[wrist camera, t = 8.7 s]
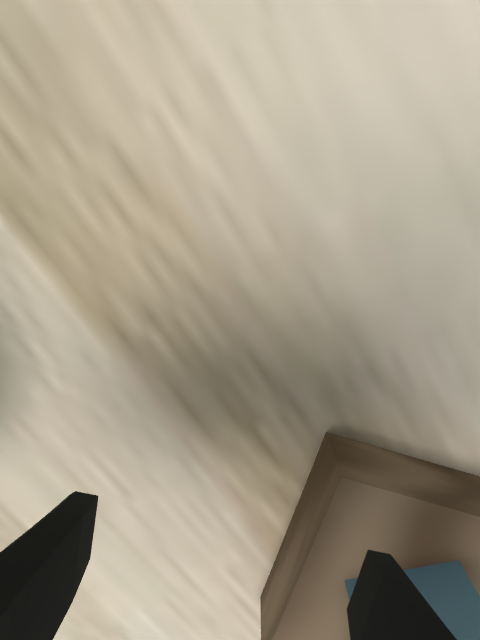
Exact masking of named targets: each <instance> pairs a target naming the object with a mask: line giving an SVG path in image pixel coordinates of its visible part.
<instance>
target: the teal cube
mask: <svg viewBox="0 0 480 640" xmlns="http://www.w3.org/2000/svg"><path fill="white" fill-rule="evenodd" d="M403 571H404V572H405V573H406V575H407V576H408V577H409V579H410V580H411V581H412V582H413V584H414V585H415V586H416V588H417V589H418V590H419V592H420V593H421V594H422V596H423V597H424V598H425V599H426V601H427V602H428V603H429V605H430V606H431V607H432V609H433V610H434V611H435V612H436V614H437V615H438V616H439V618H440V619H441V620H442V621H443V623H444V624H445V625H446V627H447V628H448V629H449V630H450V632H451V633H452V634H453V635H454V637H455V638H456V639H457V640H480V596H479V594H478V592H477V591H476V589H475V587H474V586H473V584H472V582H471V581H470V579H469V577H468V576H467V574H466V572H465V571H464V569H463V567H462V565H461V564H460V562H459V560H458V561H453V562H447V563H441V564H435V565H429V566H424V567H418V568H412V569H406V570H403ZM344 581H345V585H346V589H347V593H348V597H349V601H350V598H351V595H352V593H353V590H354V587H355V584H356V581H357V578H354V579H348V580H344Z"/></svg>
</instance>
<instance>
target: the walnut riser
mask: <svg viewBox="0 0 480 640" xmlns="http://www.w3.org/2000/svg"><path fill="white" fill-rule="evenodd" d="M367 550H373V551H378V552H383V553H388V554H391V555H392V557H393V558H394V559H395V560H396V562H397V563H398V564H399V566H400V567H401V568H402V569H403V570H406V569H412V568H418V567H424V566H429V565H435V564H441V563H447V562H453V561H458V560H459V562H460V564H461V565H462V567H463V569H464V571H465V572H466V574H467V576H468V577H469V579H470V581H471V582H472V584H473V586H474V587H475V589H476V591H477V592H478V594H479V596H480V477H478V476H475V475H472V474H468V473H465V472H461V471H458V470H454V469H451V468H447V467H444V466H441V465H437V464H434V463H430V462H427V461H423V460H420V459H416V458H413V457H410V456H406V455H403V454H399V453H396V452H392V451H389V450H385V449H382V448H378V447H375V446H372V445H368V444H365V443H361V442H358V441H354V440H351V439H347V438H344V437H341V436H337V435H334V434H330V433H327V432H326V435H325V437H324V440H323V442H322V445H321V447H320V450H319V452H318V455H317V457H316V460H315V462H314V465H313V467H312V470H311V472H310V475H309V477H308V480H307V482H306V485H305V487H304V490H303V492H302V495H301V497H300V500H299V502H298V505H297V507H296V510H295V512H294V515H293V517H292V520H291V522H290V525H289V527H288V530H287V532H286V535H285V537H284V540H283V542H282V545H281V547H280V550H279V552H278V555H277V557H276V560H275V562H274V565H273V567H272V570H271V572H270V575H269V577H268V580H267V582H266V585H265V587H264V590H263V592H262V595H261V640H350V633H349V624H348V616H347V607H348V604H349V597H348V593H347V589H346V585H345V581H344V580H348V579H354V578H358V576H359V573H360V570H361V567H362V564H363V561H364V559H365V556H366V553H367Z"/></svg>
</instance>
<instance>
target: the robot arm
mask: <svg viewBox="0 0 480 640" xmlns="http://www.w3.org/2000/svg"><path fill="white" fill-rule="evenodd" d="M97 502H98V496H96V495H91V494H86V493H81V492H76V491H75V492H73V493H72V494H70V495H69V496H68V497H67V498H66V499H65V500H63V501H62V502H61V503H60V504H59V505H58V506H57V507H55V508H54V509H53V510H52V511H51V512H50V513H48V514H47V515H46V516H45V517H44V518H42V519H41V520H40V521H39V522H38V523H36V524H35V525H34V526H33V527H32V528H30V529H29V530H28V531H27V532H25V533H24V534H23V535H22V536H20V537H19V538H18V539H17V540H15V541H14V542H13V543H11V544H10V545H9V546H8V547H6V548H5V549H4V550H3V551H1V552H0V640H53V638H54V636H55V634H56V632H57V630H58V628H59V627H60V625H61V623H62V621H63V619H64V617H65V615H66V613H67V611H68V609H69V607H70V605H71V603H72V601H73V599H74V597H75V594H76V592H77V589H78V587H79V585H80V582H81V580H82V577H83V575H84V572H85V570H86V567H87V565H88V562H89V560H90V555H91V548H92V540H93V532H94V525H95V517H96V510H97ZM347 616H348V624H349V633H350V640H457V639H456V638H455V637H454V635H453V634H452V633H451V632H450V630H449V629H448V628H447V627H446V625H445V624H444V623H443V621H442V620H441V619H440V618H439V616H438V615H437V614H436V612H435V611H434V610H433V609H432V607H431V606H430V605H429V603H428V602H427V601H426V599H425V598H424V597H423V596H422V594H421V593H420V592H419V590H418V589H417V588H416V586H415V585H414V584H413V582H412V581H411V580H410V579H409V577H408V576H407V575H406V573H405V572H404V571H403V569H402V568H401V567H400V566H399V564H398V563H397V562H396V560H395V559H394V558H393V557H392V555H391V554H388V553H383V552H378V551H373V550H367V553H366V556H365V559H364V561H363V564H362V567H361V570H360V573H359V576H358V578H357V581H356V584H355V587H354V590H353V593H352V595H351V598H350V601H349V604H348V607H347Z"/></svg>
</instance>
